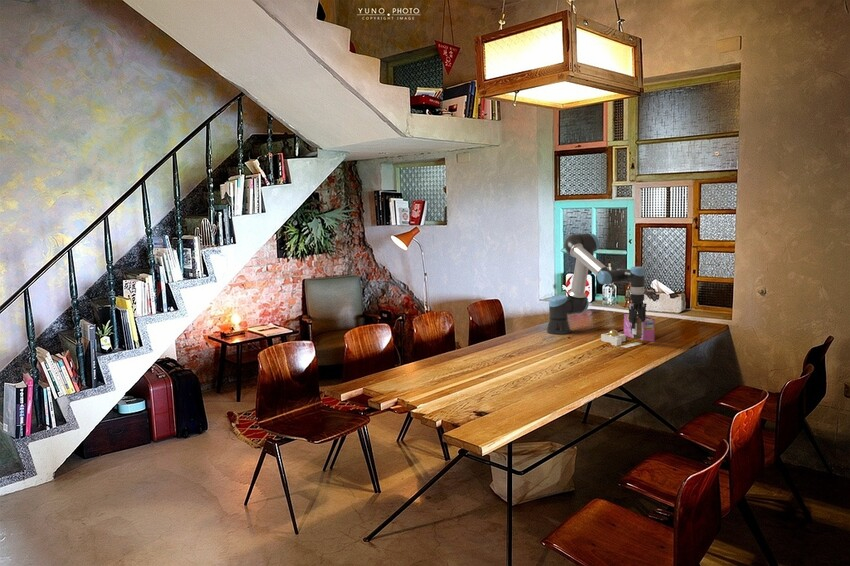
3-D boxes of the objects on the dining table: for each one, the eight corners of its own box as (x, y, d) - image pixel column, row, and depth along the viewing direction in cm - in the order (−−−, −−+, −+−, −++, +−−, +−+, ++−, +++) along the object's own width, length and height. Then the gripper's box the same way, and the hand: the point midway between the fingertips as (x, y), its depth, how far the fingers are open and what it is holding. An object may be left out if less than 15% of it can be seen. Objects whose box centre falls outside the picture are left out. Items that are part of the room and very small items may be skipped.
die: (611, 344, 377) (611, 338, 377) (615, 343, 380) (615, 337, 379) (616, 346, 374) (616, 339, 373) (621, 345, 376) (621, 338, 376)
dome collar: (601, 341, 388) (601, 334, 387) (612, 338, 393) (612, 331, 393) (614, 343, 380) (614, 337, 379) (625, 341, 385) (625, 334, 384)
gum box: (621, 334, 408) (622, 313, 407) (633, 333, 410) (633, 312, 408) (643, 342, 385) (643, 320, 383) (655, 341, 387) (655, 319, 385)
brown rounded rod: (631, 338, 378) (631, 317, 376) (636, 336, 380) (636, 316, 378) (638, 339, 374) (638, 318, 372) (643, 338, 376) (643, 317, 375)
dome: (604, 339, 387) (604, 329, 386) (612, 337, 391) (612, 328, 390) (614, 341, 382) (614, 331, 381) (622, 339, 385) (622, 329, 384)
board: (596, 343, 387) (596, 341, 386) (614, 339, 395) (614, 337, 395) (626, 350, 368) (626, 348, 368) (644, 345, 377) (644, 343, 377)
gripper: (632, 296, 366) (632, 336, 369) (652, 292, 375) (652, 332, 378) (622, 294, 372) (622, 334, 375) (641, 291, 382) (641, 330, 385)
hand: (637, 333), depth 377 cm, fingers closed on brown rounded rod, 4 cm apart
